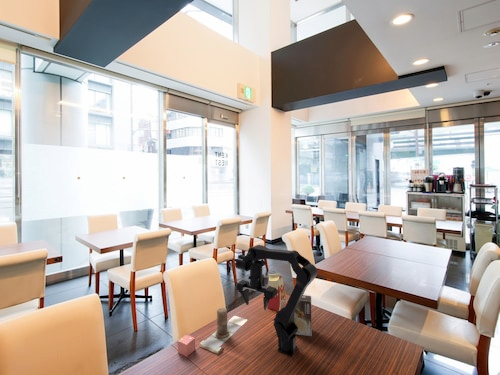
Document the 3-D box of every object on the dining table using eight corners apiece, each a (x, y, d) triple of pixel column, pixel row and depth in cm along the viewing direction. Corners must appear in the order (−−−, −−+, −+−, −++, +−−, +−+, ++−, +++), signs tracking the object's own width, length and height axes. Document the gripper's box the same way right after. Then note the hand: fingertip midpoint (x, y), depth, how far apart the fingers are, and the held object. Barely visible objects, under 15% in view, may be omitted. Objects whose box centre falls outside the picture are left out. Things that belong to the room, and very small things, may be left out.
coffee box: (311, 328, 122) (311, 295, 121) (311, 336, 116) (311, 302, 115) (292, 326, 124) (292, 293, 123) (291, 334, 118) (291, 299, 117)
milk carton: (287, 307, 142) (287, 271, 141) (279, 314, 134) (280, 277, 134) (272, 302, 147) (272, 268, 146) (264, 309, 139) (264, 273, 138)
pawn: (229, 330, 118) (229, 307, 118) (227, 339, 112) (227, 314, 112) (217, 330, 119) (216, 307, 118) (214, 338, 113) (214, 314, 112)
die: (195, 349, 108) (195, 337, 107) (186, 356, 103) (186, 344, 103) (186, 345, 110) (186, 334, 110) (177, 352, 106) (177, 340, 106)
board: (250, 322, 127) (250, 320, 127) (217, 354, 105) (217, 351, 105) (233, 317, 132) (233, 314, 132) (199, 346, 110) (199, 343, 110)
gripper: (282, 271, 118) (282, 304, 119) (247, 264, 128) (247, 295, 128) (271, 280, 109) (271, 315, 109) (235, 271, 118) (235, 305, 119)
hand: (256, 307), depth 117 cm, fingers open, 9 cm apart
